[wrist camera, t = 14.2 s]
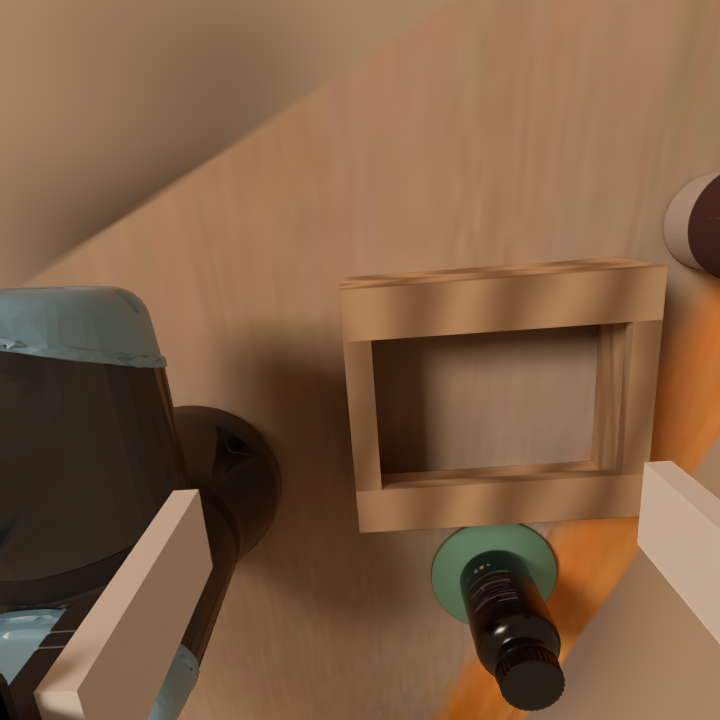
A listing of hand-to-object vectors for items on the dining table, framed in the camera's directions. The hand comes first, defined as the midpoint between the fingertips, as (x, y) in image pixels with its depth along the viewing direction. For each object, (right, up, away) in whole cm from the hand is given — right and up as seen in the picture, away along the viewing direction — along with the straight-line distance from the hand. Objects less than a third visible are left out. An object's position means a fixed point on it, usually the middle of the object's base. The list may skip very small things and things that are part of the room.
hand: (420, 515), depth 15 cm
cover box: (+9, +3, +29) cm, 30 cm away
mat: (+11, -16, +35) cm, 40 cm away
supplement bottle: (+11, -16, +34) cm, 39 cm away
